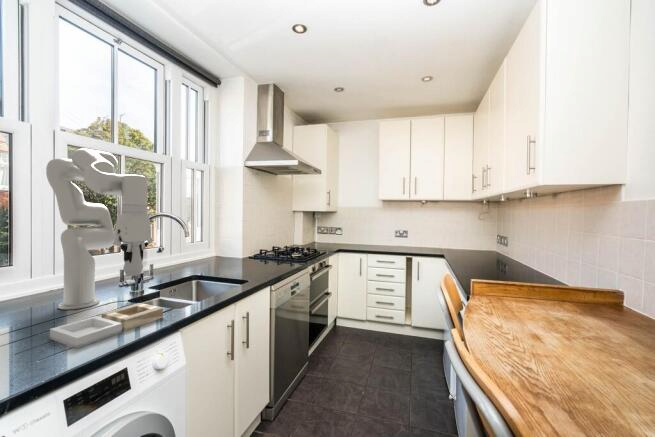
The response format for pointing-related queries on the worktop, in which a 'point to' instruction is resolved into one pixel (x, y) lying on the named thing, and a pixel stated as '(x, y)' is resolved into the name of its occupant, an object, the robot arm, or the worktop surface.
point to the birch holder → (134, 315)
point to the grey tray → (85, 331)
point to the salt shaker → (134, 261)
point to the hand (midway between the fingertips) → (133, 261)
